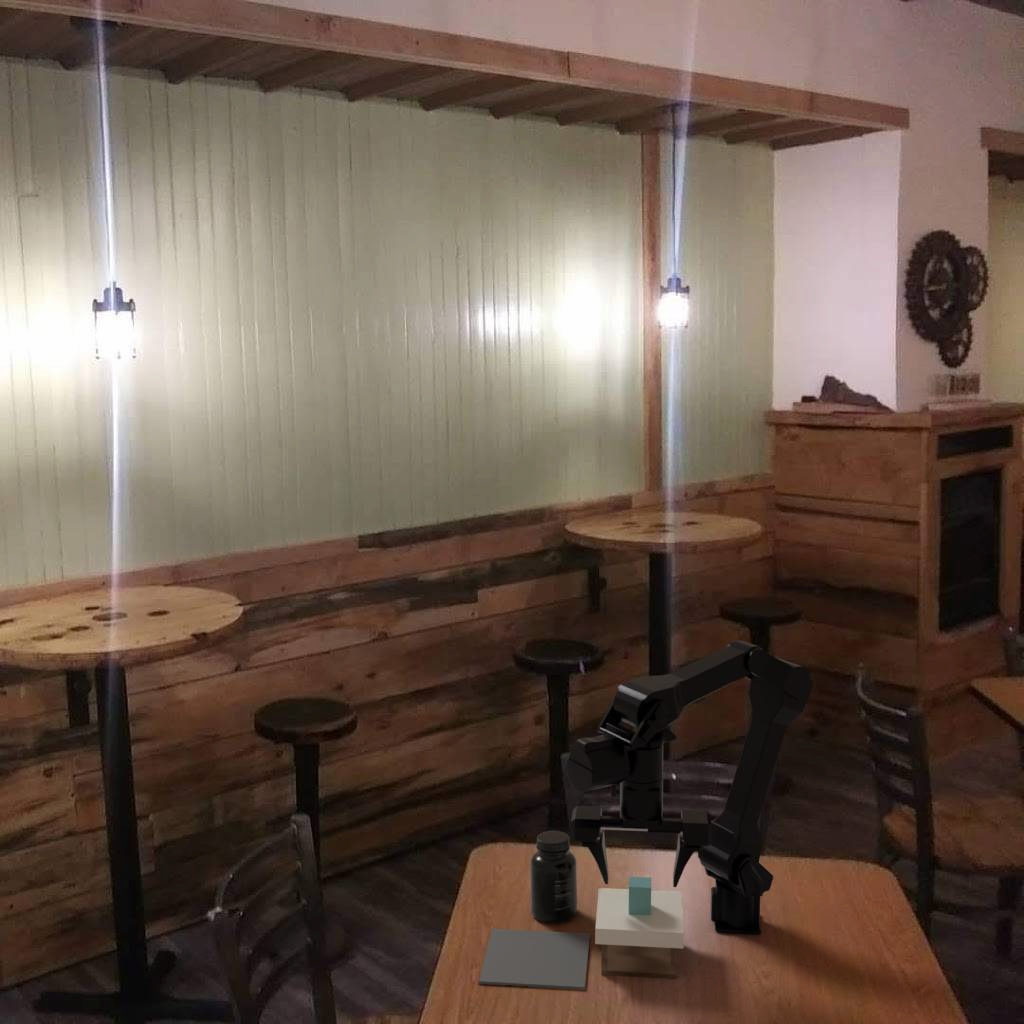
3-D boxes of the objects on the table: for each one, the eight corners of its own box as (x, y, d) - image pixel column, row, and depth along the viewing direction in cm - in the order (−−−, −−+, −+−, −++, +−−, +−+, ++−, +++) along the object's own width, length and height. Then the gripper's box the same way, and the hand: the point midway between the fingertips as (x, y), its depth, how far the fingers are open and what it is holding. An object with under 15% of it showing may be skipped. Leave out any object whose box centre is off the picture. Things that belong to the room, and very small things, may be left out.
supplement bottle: (578, 903, 184) (578, 828, 182) (575, 926, 177) (576, 848, 176) (532, 901, 185) (532, 826, 183) (528, 924, 178) (528, 846, 176)
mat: (589, 936, 175) (589, 933, 175) (584, 989, 161) (584, 987, 161) (492, 931, 176) (492, 928, 176) (478, 983, 162) (478, 981, 162)
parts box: (675, 940, 173) (675, 900, 172) (676, 978, 164) (677, 936, 163) (603, 936, 174) (604, 897, 173) (601, 974, 165) (601, 932, 164)
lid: (681, 906, 173) (682, 865, 172) (683, 948, 162) (684, 904, 161) (598, 902, 175) (599, 861, 174) (595, 943, 163) (595, 900, 162)
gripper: (709, 755, 172) (707, 860, 174) (575, 751, 174) (575, 855, 176) (713, 786, 161) (711, 898, 163) (570, 782, 163) (570, 892, 165)
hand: (640, 884), depth 167 cm, fingers open, 9 cm apart
